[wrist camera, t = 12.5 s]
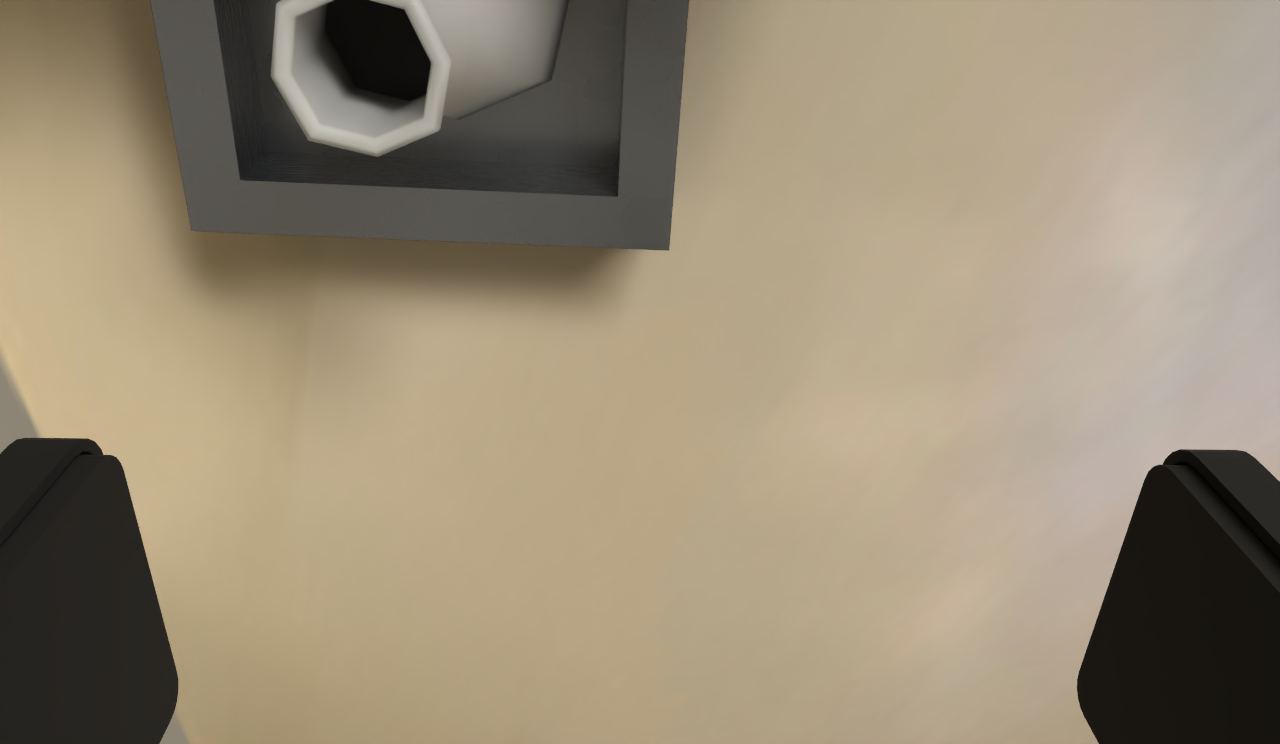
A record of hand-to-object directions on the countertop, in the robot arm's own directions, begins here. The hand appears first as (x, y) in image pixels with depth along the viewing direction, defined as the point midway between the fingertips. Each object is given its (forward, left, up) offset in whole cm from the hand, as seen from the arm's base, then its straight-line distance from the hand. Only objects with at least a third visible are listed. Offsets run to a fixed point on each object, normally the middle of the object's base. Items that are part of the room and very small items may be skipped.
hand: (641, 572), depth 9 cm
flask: (+2, +5, -21) cm, 22 cm away
